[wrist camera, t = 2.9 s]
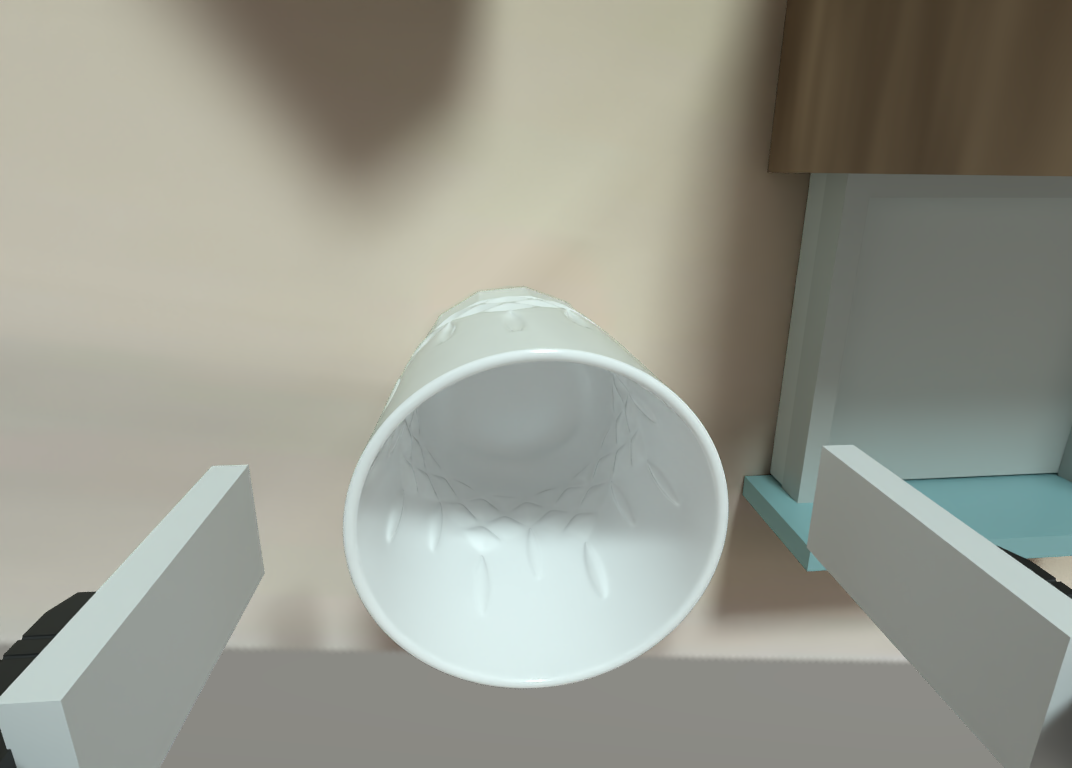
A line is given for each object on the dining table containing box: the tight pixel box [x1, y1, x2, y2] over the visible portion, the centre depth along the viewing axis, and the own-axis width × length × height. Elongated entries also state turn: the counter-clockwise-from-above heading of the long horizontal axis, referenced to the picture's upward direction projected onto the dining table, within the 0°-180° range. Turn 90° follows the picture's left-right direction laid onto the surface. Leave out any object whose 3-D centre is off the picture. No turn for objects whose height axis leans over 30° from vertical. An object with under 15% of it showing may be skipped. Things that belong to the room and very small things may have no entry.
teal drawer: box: [743, 173, 1072, 571], centre depth 21 cm, size 14×13×5 cm
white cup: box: [343, 287, 728, 689], centre depth 18 cm, size 8×8×10 cm
